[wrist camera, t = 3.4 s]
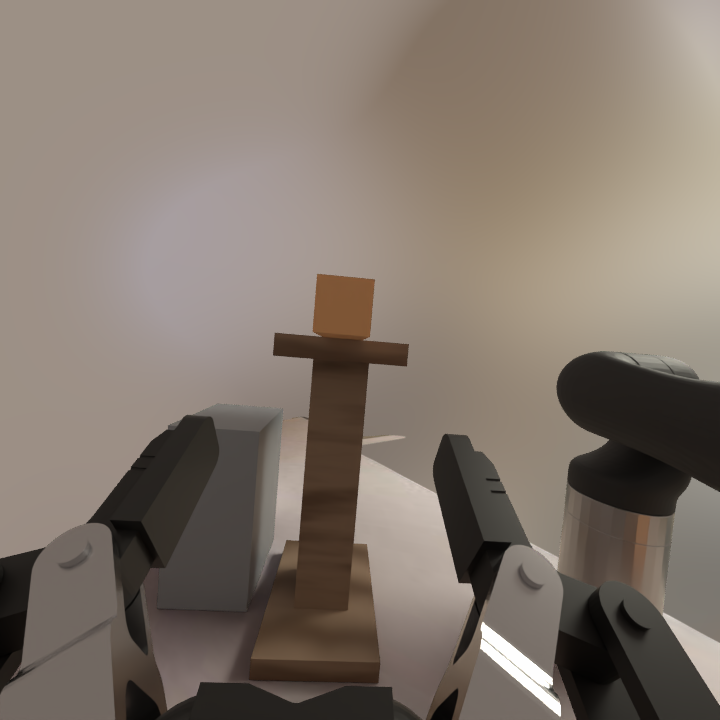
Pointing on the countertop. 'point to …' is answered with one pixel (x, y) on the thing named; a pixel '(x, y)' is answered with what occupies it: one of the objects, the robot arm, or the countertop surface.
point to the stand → (326, 529)
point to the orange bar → (343, 307)
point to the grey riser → (228, 516)
